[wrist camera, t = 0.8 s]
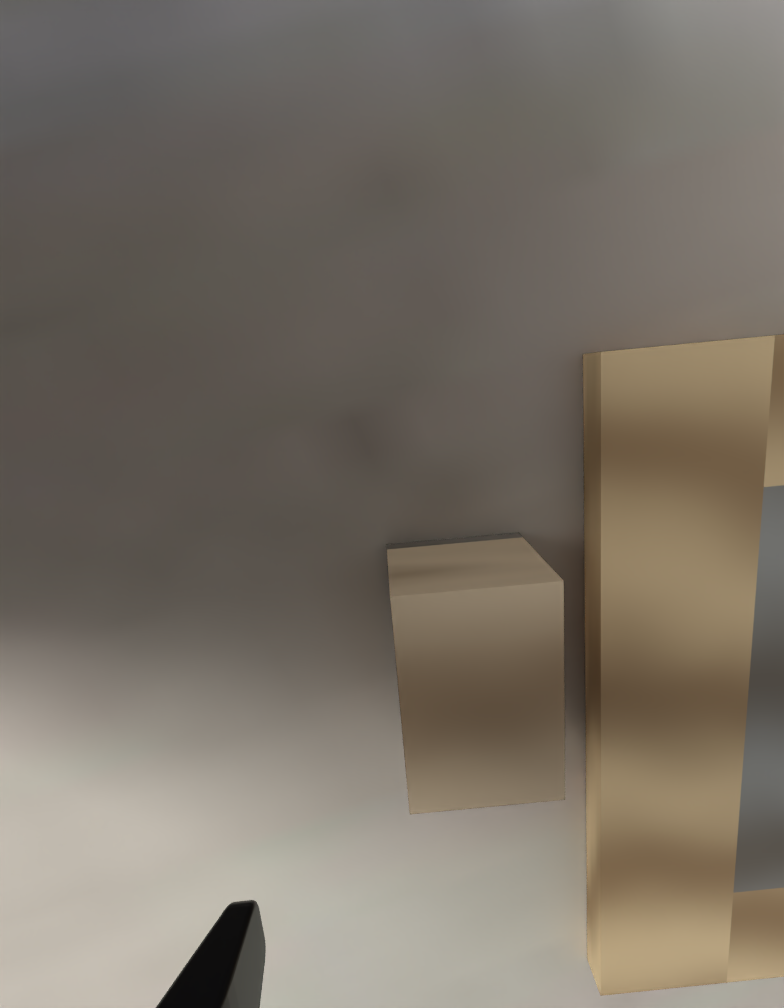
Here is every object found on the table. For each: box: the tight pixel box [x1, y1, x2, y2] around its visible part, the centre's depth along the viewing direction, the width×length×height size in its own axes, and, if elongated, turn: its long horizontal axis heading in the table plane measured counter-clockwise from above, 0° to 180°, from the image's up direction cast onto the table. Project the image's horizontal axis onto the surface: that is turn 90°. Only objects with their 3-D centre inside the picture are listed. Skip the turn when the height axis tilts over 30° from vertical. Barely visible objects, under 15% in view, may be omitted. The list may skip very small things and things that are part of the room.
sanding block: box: [386, 533, 565, 814], centre depth 15 cm, size 6×4×4 cm, turn 5°
